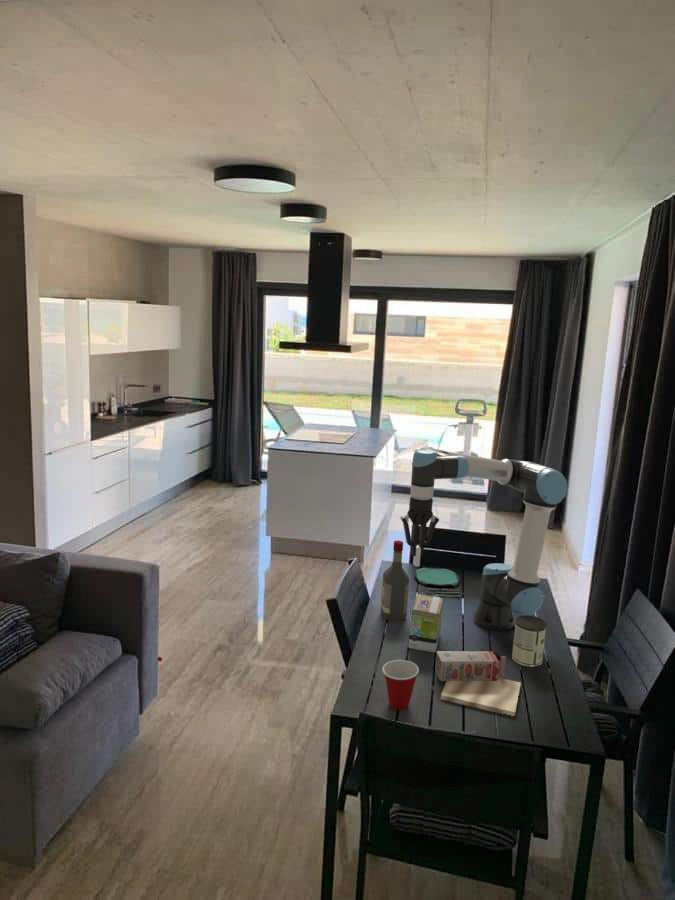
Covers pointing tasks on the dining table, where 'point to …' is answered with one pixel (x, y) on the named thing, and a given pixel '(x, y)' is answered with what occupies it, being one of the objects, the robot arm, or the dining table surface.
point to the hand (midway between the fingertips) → (416, 564)
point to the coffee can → (529, 640)
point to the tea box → (425, 623)
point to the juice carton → (469, 665)
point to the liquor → (395, 587)
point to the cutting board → (484, 694)
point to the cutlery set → (438, 579)
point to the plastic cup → (400, 682)
